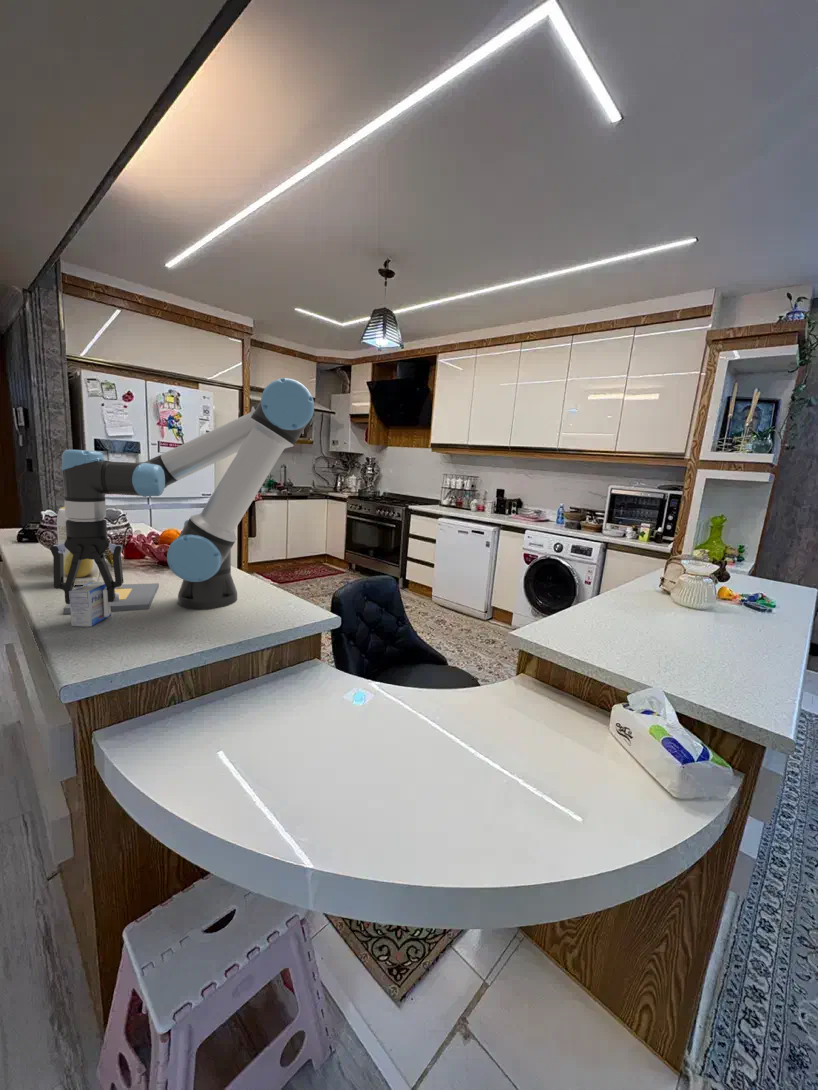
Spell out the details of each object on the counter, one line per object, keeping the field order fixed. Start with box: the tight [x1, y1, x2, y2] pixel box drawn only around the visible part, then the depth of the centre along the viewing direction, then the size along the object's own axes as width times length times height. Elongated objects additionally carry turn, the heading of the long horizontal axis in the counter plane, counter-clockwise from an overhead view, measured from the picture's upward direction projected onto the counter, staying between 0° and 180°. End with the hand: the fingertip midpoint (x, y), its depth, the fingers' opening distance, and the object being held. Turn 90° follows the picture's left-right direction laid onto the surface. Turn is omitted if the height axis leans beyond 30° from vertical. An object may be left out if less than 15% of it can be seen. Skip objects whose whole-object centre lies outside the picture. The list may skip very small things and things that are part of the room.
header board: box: [63, 582, 160, 615], centre depth 119 cm, size 18×20×4 cm
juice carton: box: [56, 505, 101, 587], centre depth 128 cm, size 9×8×24 cm
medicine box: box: [69, 581, 112, 628], centre depth 103 cm, size 8×4×9 cm, turn 5°
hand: (91, 615), depth 104 cm, fingers closed on medicine box, 6 cm apart
